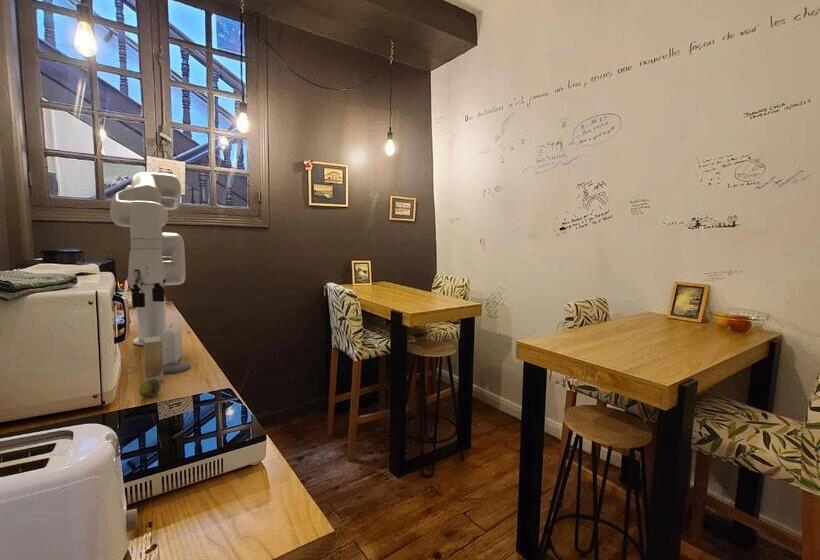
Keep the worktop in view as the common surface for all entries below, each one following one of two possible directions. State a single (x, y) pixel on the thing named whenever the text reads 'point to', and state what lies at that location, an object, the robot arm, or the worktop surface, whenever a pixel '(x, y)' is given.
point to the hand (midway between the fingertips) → (149, 304)
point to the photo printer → (171, 344)
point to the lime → (150, 388)
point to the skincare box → (153, 358)
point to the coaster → (176, 367)
